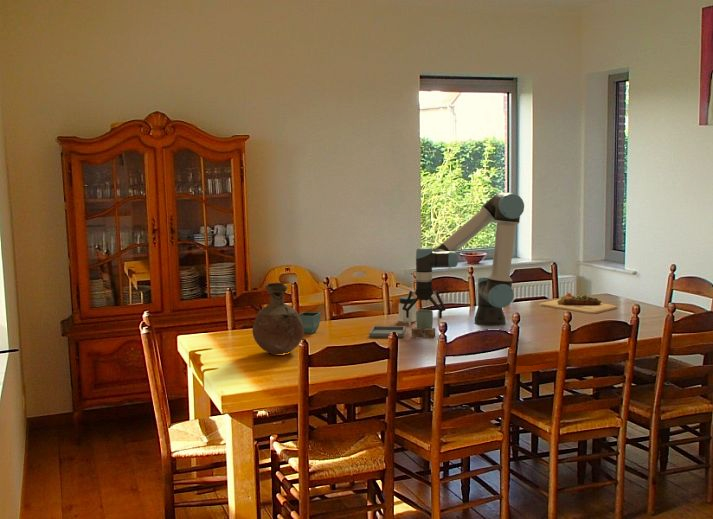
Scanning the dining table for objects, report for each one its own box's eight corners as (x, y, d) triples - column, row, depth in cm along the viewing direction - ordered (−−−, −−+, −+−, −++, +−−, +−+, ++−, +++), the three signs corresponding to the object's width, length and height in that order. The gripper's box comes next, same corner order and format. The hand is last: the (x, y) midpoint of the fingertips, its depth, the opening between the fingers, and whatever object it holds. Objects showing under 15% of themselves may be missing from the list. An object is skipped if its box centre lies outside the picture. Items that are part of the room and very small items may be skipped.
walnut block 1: (419, 335, 356) (419, 327, 355) (422, 337, 352) (422, 328, 351) (411, 336, 355) (411, 327, 354) (414, 338, 351) (413, 329, 350)
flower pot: (297, 333, 365) (296, 315, 364) (304, 329, 373) (304, 311, 372) (314, 334, 362) (313, 316, 361) (321, 330, 370) (320, 312, 369)
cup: (432, 333, 358) (431, 312, 357) (415, 333, 360) (415, 312, 358) (433, 330, 366) (433, 309, 364) (417, 329, 367) (417, 309, 366)
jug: (261, 362, 314) (258, 289, 310) (247, 350, 334) (244, 282, 330) (311, 355, 323) (309, 285, 319) (294, 345, 342) (292, 278, 338)
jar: (398, 322, 385) (398, 299, 383) (398, 319, 393) (398, 296, 391) (416, 322, 384) (416, 298, 383) (416, 319, 392) (416, 296, 391)
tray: (405, 330, 367) (405, 326, 366) (403, 337, 351) (403, 333, 351) (373, 330, 369) (373, 326, 369) (369, 337, 354) (369, 333, 353)
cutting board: (537, 306, 422) (537, 293, 421) (563, 301, 436) (563, 288, 435) (592, 315, 394) (592, 301, 393) (618, 309, 409) (618, 295, 408)
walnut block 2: (435, 336, 352) (435, 328, 352) (432, 338, 349) (432, 330, 348) (427, 336, 354) (427, 327, 354) (424, 338, 350) (424, 329, 350)
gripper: (451, 279, 362) (450, 323, 364) (398, 279, 365) (398, 322, 368) (450, 282, 354) (450, 327, 357) (396, 281, 358) (397, 326, 360)
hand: (424, 325), depth 362 cm, fingers open, 13 cm apart
